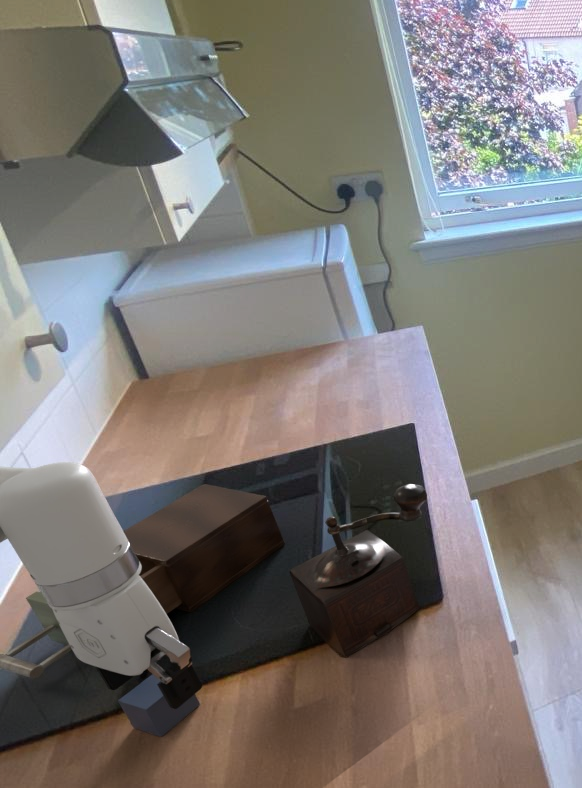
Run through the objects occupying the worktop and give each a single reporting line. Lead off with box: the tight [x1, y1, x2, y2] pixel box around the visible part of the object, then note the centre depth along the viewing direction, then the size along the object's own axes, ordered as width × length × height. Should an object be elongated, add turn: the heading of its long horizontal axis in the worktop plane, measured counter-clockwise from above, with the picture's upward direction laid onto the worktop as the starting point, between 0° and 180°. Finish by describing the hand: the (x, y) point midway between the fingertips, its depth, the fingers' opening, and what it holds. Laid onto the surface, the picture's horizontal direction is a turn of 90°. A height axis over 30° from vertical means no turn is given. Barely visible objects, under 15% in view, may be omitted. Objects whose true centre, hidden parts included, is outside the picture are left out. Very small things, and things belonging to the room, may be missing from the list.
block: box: [117, 673, 201, 738], centre depth 85 cm, size 4×4×4 cm
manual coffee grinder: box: [289, 483, 428, 658], centre depth 97 cm, size 16×11×18 cm
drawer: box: [0, 559, 182, 679], centre depth 96 cm, size 20×11×7 cm, turn 164°
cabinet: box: [123, 483, 286, 614], centre depth 107 cm, size 15×13×9 cm
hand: (156, 688), depth 84 cm, fingers open, 9 cm apart
